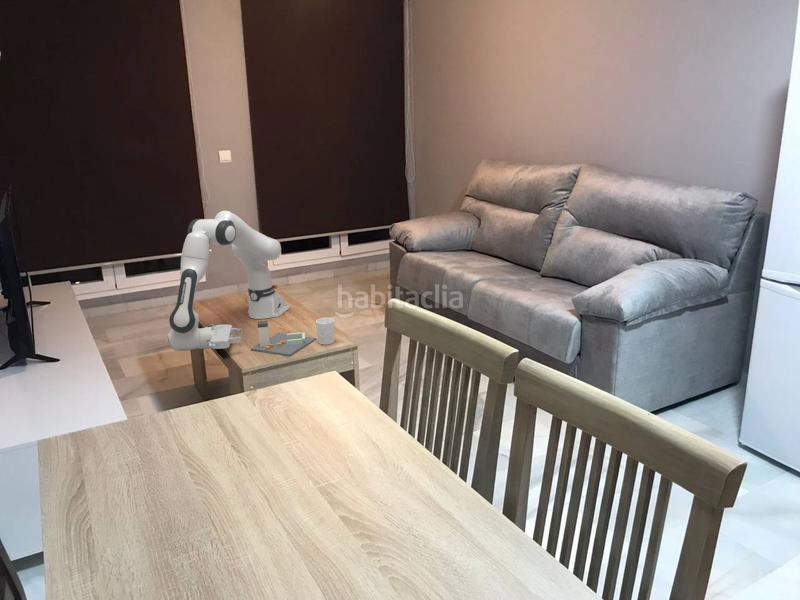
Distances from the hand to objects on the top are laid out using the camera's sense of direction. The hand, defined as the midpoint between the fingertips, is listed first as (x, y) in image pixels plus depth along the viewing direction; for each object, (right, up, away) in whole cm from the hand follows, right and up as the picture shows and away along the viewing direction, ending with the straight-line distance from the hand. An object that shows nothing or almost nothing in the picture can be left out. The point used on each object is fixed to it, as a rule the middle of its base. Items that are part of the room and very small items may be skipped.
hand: (241, 334), depth 279 cm
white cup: (+36, -4, +5) cm, 36 cm away
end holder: (+22, -4, +6) cm, 23 cm away
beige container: (+9, -4, +3) cm, 11 cm away
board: (+17, -5, +4) cm, 18 cm away
